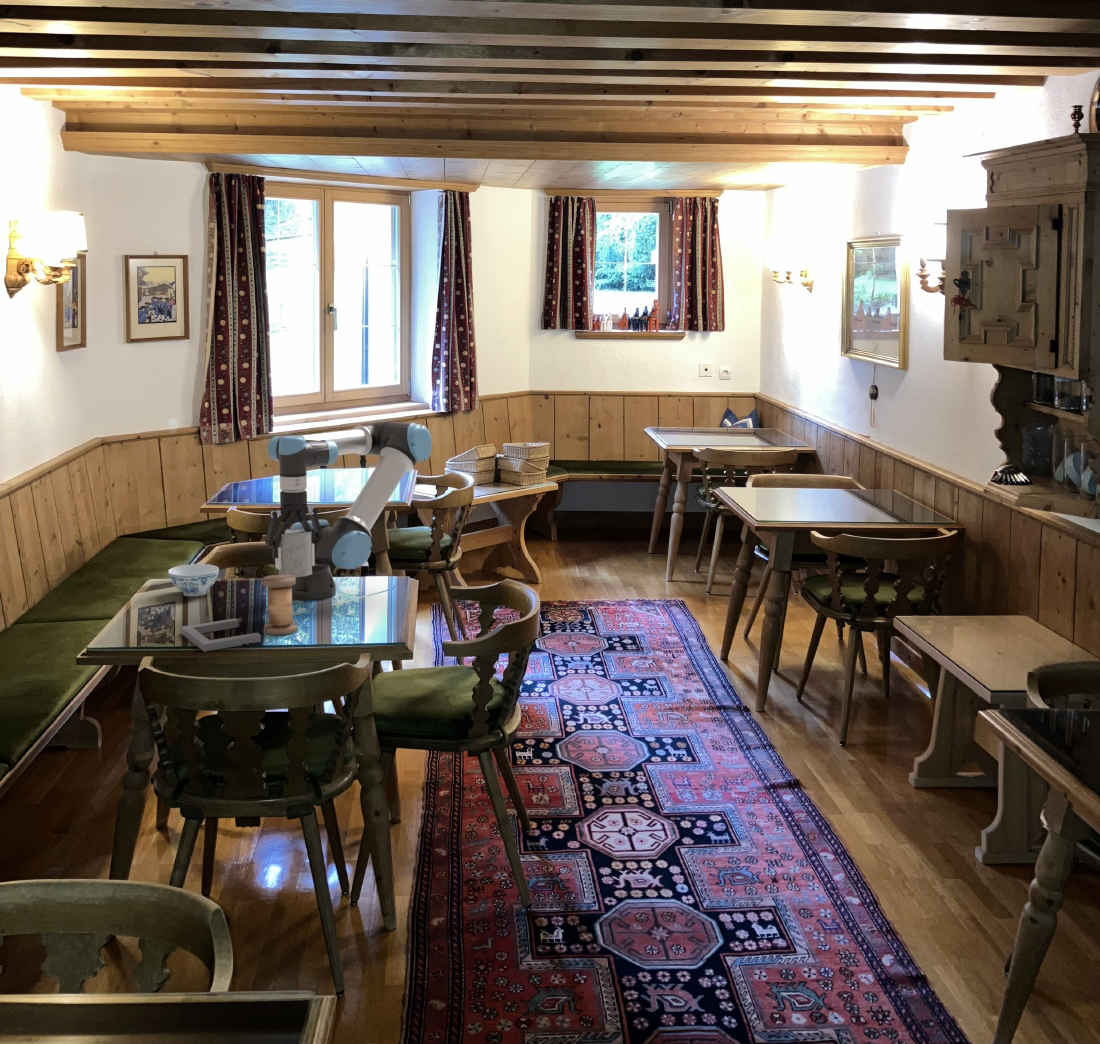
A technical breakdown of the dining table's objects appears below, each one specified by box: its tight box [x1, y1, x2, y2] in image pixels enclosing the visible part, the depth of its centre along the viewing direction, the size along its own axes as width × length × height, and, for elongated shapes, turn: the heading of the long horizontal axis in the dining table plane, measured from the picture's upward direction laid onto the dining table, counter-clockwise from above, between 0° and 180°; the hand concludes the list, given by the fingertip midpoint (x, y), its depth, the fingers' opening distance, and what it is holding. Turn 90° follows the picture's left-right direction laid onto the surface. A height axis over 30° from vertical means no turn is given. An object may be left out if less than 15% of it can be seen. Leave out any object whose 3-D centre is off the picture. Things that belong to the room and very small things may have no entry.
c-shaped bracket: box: [180, 617, 262, 653], centre depth 315 cm, size 19×16×2 cm
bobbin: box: [261, 573, 298, 636], centre depth 321 cm, size 9×9×15 cm
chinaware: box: [167, 563, 220, 598], centre depth 360 cm, size 15×15×8 cm
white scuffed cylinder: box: [278, 528, 312, 577], centre depth 335 cm, size 10×10×12 cm
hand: (295, 566), depth 336 cm, fingers closed on white scuffed cylinder, 9 cm apart
